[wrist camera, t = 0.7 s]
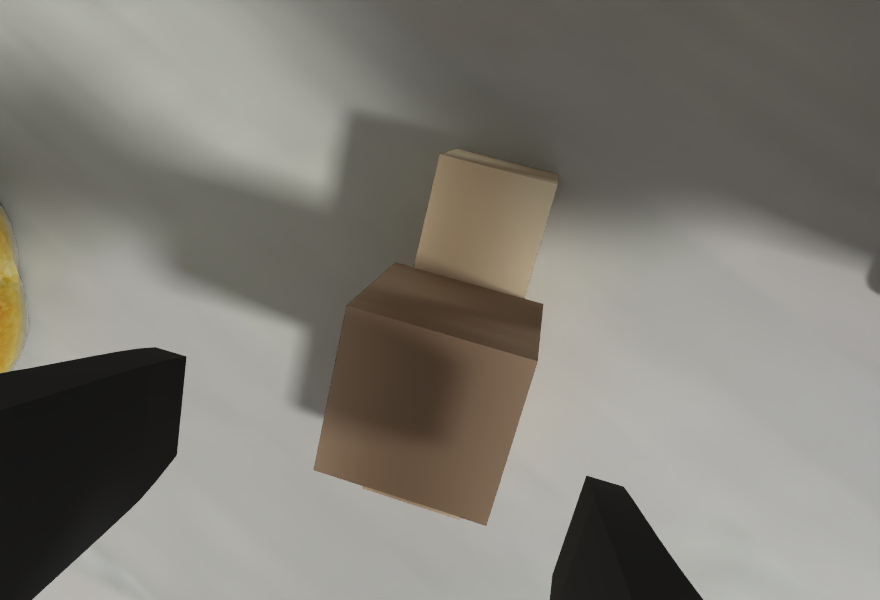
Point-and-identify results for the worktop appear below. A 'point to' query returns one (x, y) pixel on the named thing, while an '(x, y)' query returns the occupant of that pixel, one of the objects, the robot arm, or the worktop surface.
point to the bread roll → (11, 299)
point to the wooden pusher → (444, 346)
